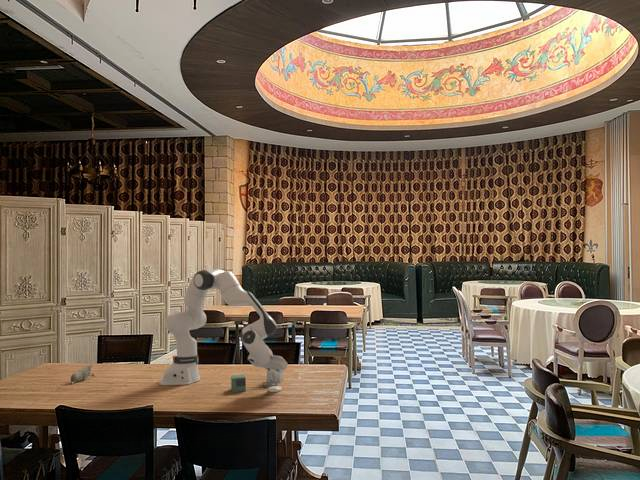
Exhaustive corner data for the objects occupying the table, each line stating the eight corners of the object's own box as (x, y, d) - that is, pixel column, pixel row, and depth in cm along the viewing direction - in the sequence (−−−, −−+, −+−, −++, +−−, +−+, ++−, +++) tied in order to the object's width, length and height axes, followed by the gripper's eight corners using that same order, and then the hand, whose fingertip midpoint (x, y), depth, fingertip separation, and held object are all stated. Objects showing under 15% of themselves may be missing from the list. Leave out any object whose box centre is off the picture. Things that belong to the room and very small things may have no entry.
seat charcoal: (264, 388, 265) (264, 386, 265) (262, 384, 272) (262, 382, 272) (277, 387, 267) (277, 384, 267) (275, 383, 274) (275, 381, 274)
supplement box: (279, 383, 275) (279, 359, 275) (266, 382, 276) (266, 359, 277) (283, 379, 282) (283, 357, 282) (270, 379, 284) (270, 356, 284)
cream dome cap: (269, 392, 257) (269, 390, 257) (267, 389, 264) (267, 386, 264) (282, 391, 259) (282, 389, 259) (280, 388, 265) (280, 385, 265)
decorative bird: (67, 384, 284) (67, 371, 284) (88, 377, 300) (87, 364, 300) (75, 384, 283) (75, 371, 283) (95, 377, 298) (95, 364, 298)
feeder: (232, 392, 259) (231, 378, 259) (231, 389, 266) (230, 375, 266) (245, 391, 261) (245, 377, 261) (244, 387, 267) (244, 374, 267)
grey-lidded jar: (270, 384, 258) (270, 362, 258) (269, 381, 263) (268, 360, 263) (280, 383, 259) (280, 361, 259) (279, 380, 264) (278, 359, 264)
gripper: (282, 351, 250) (294, 367, 258) (250, 348, 261) (262, 363, 269) (277, 362, 246) (289, 378, 254) (244, 358, 257) (257, 373, 265)
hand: (275, 370), depth 262 cm, fingers closed on grey-lidded jar, 5 cm apart
